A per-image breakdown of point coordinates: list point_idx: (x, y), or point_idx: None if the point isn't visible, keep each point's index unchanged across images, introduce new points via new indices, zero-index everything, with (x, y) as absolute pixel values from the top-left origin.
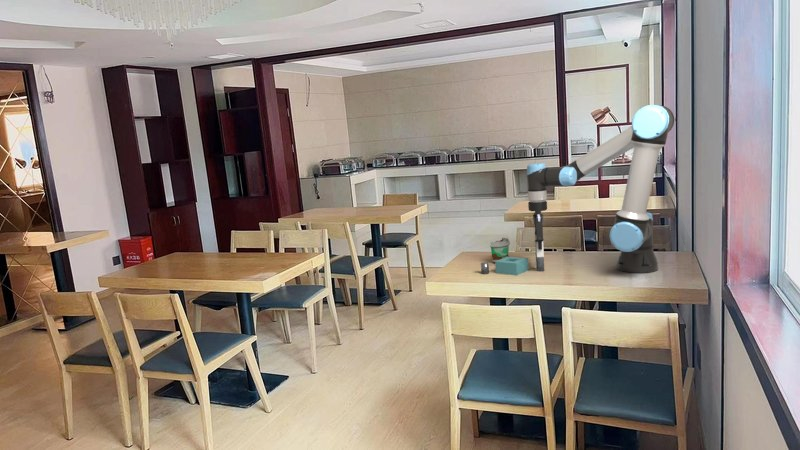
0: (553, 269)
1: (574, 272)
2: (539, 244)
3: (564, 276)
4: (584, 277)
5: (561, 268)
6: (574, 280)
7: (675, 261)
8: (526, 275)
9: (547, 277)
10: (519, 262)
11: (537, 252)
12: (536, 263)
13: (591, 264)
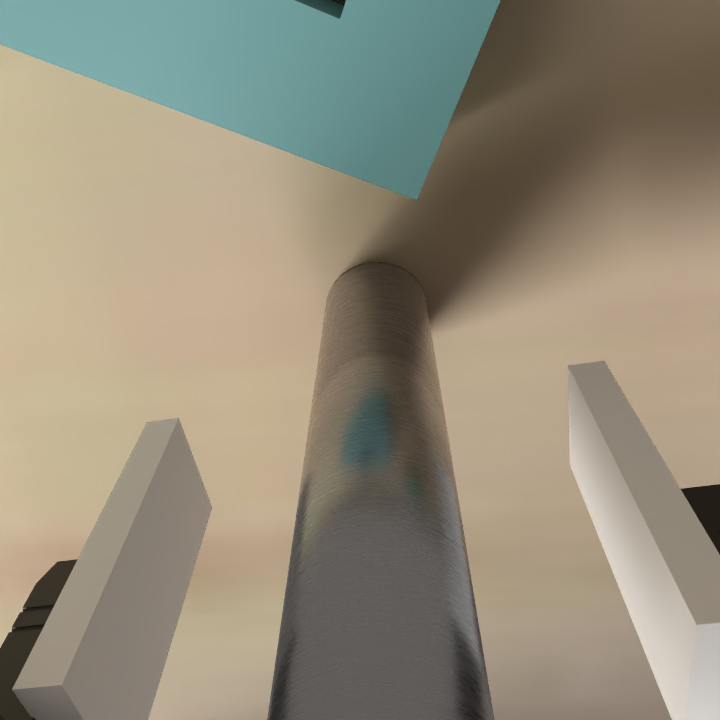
0: None
1: None
2: (4, 680)
3: None
4: None
5: (476, 505)
6: (16, 611)
7: None
8: (81, 160)
9: (53, 410)
10: (72, 70)
11: (121, 488)
12: (347, 314)
13: (615, 698)
